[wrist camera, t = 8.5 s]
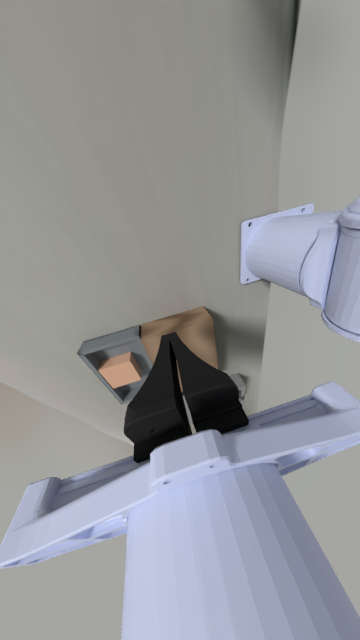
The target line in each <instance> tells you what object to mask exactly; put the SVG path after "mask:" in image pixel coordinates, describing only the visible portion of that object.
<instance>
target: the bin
mask: <svg viewBox="0 0 360 640" xmlns="http://www.w3.org/2000/svg"><path fill="white" fill-rule="evenodd" d="M128 352H131V353H132V355H133V356H134V358H135V360H136V361H137V363H138V365H139V366H140V368H141V370H142V380H139V381H136V382H132V383H129V384H126V385H123V386H120V387H117V388H114V389H113V388H112V386H111V385H110V384H109V383H108V382H107V381H106V379H105V378H104V377H103V376H102V375H101V374H100V373H99V371H98V369H99V366H100V363H101V361H103V360H106V359H109V358H112V357H115V356H119V355H122V354H125V353H128ZM77 354H78V355H79V356H80V357H81V359H82V360H83V361H84V362H85V363H86V364H87V366H88V367H89V368H90V369H91V370H92V371H93V372H94V374H95V375H96V376H97V377H98V378H99V379H100V380H101V382H102V383H103V384H104V385H105V386H106V387H107V389H108V390H109V391H110V392H111V393H112V394H113V395H114V397H115V398H116V399H117V400H118V401H119V402H120V403H121V404H123V403H127V402H130V401H132V399H133V398H134V397H135V395H136V394H137V393H138V391H139V390H140V388H141V387H142V385H143V383H144V382H145V380H146V378H147V377H148V375H149V373H150V371H151V369H152V366H153V365H152V363H151V361H150V358H149V356H148V354H147V352H146V350H145V348H144V346H143V344H142V342H141V328H140V326H139V325H138V326H135V327H132V328H128V329H125V330H121V331H118V332H115V333H111V334H108V335H104V336H101V337H98V338H94V339H91V340H87V341H84V342H83V343H82V345H81V347H80V349H79V351H78V352H77Z"/></svg>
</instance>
